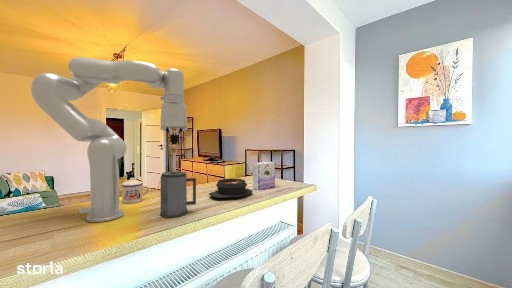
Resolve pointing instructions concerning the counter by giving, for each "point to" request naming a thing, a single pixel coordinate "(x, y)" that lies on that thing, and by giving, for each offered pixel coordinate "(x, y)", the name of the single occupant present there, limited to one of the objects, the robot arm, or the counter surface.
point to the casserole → (231, 189)
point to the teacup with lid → (132, 191)
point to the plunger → (174, 155)
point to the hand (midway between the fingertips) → (174, 144)
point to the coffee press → (175, 194)
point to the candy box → (263, 175)
